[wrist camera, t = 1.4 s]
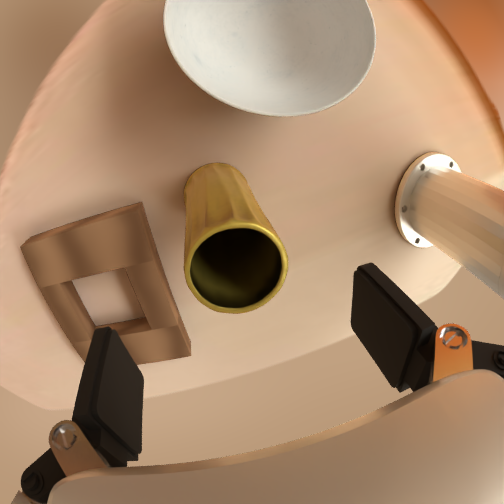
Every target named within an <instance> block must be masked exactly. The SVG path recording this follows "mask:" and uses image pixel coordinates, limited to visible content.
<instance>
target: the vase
mask: <svg viewBox="0 0 504 504" xmlns="http://www.w3.org/2000/svg"><path fill="white" fill-rule="evenodd" d="M184 202H185V206H186V232H185V251H184V273H185V278H186V282H187V285H188V287H189V289H190V290H191V292H192V293H193V295H194V296H195V297H196V298H197V300H198V301H199V302H201V303H202V304H203V305H205V306H206V307H208V308H210V309H212V310H214V311H217V312H222V313H233V314H238V313H245V312H249V311H252V310H255V309H257V308H259V307H261V306H263V305H264V304H266V303H267V302H268V301H269V300H271V299H272V298H273V297H274V296H275V295H276V294H277V292H278V291H279V290H280V288H281V287H282V285H283V283H284V281H285V278H286V275H287V271H288V256H287V253H286V250H285V248H284V246H283V244H282V242H281V240H280V238H279V237H278V235H277V233H276V232H275V230H274V229H273V227H272V225H271V224H270V222H269V221H268V219H267V218H266V216H265V215H264V213H263V211H262V210H261V208H260V206H259V205H258V203H257V201H256V200H255V198H254V196H253V194H252V191H251V189H250V187H249V186H248V184H247V181H246V179H245V177H244V176H243V175H242V174H241V173H240V172H239V171H238V170H237V169H236V168H234V167H233V166H231V165H228V164H223V163H211V164H207V165H205V166H202V167H200V168H199V169H197V170H196V171H195V172H194V173H193V174H192V175H191V176H190V178H189V179H188V181H187V183H186V185H185V189H184Z"/></svg>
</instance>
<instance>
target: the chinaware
mask: <svg viewBox="0 0 504 504" xmlns="http://www.w3.org/2000/svg"><path fill="white" fill-rule="evenodd" d="M163 27H164V33H165V38H166V41H167V44H168V47H169V49H170V52H171V54H172V56H173V58H174V59H175V61H176V62H177V64H178V65H179V67H180V68H181V70H182V71H183V72H184V73H185V74H186V75H187V77H188V78H189V79H190V80H191V81H192V82H193V83H195V84H196V85H197V86H198V87H199V88H201V89H202V90H203V91H205V92H206V93H207V94H209V95H210V96H212V97H214V98H215V99H217V100H219V101H221V102H223V103H225V104H227V105H229V106H232V107H234V108H237V109H240V110H243V111H246V112H250V113H254V114H258V115H264V116H274V117H293V116H302V115H308V114H312V113H316V112H319V111H322V110H325V109H327V108H329V107H332V106H334V105H335V104H337V103H339V102H341V101H342V100H344V99H345V98H346V97H348V96H349V95H350V94H351V93H352V92H353V91H354V90H355V89H356V88H357V87H358V86H359V85H360V84H361V82H362V81H363V80H364V78H365V77H366V75H367V73H368V71H369V69H370V67H371V64H372V61H373V58H374V54H375V48H376V30H375V24H374V19H373V16H372V12H371V10H370V7H369V5H368V3H367V1H366V0H166V1H165V5H164V12H163Z"/></svg>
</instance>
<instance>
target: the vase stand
mask: <svg viewBox="0 0 504 504" xmlns="http://www.w3.org/2000/svg"><path fill="white" fill-rule="evenodd" d="M20 248H21V250H22V253H23V255H24V257H25V259H26V262H27V264H28V266H29V268H30V270H31V272H32V274H33V276H34V279H35V281H36V283H37V285H38V286H39V288H40V290H41V292H42V294H43V296H44V298H45V300H46V302H47V303H48V305H49V307H50V309H51V310H52V312H53V314H54V316H55V317H56V319H57V321H58V322H59V324H60V326H61V327H62V329H63V331H64V332H65V334H66V335H67V337H68V338H69V340H70V342H71V343H72V345H73V346H74V348H75V349H76V351H77V352H78V353H79V355H80V356H81V358H82V359H83V361H84V362H85V361H86V358H87V354H88V350H89V347H90V344H91V340H92V337H93V334H94V331H95V329H97V328H102V327H107V326H109V327H111V329H115V330H116V331H117V333H118V335H119V337H120V338H121V340H122V342H123V344H124V345H125V347H126V349H127V350H128V352H129V354H130V355H131V357H132V359H133V360H134V362H135V363H136V365H139V364H146V363H153V362H159V361H165V360H171V359H177V358H182V357H188V356H191V341H190V339H189V337H188V334H187V332H186V329H185V327H184V324H183V322H182V319H181V316H180V314H179V311H178V309H177V306H176V303H175V301H174V298H173V295H172V293H171V290H170V287H169V284H168V281H167V279H166V276H165V273H164V270H163V267H162V264H161V261H160V258H159V255H158V252H157V249H156V246H155V243H154V240H153V237H152V234H151V230H150V227H149V224H148V220H147V217H146V214H145V210H144V207H143V203H142V202H140V203H137V204H133V205H129V206H126V207H122V208H119V209H115V210H112V211H108V212H105V213H102V214H98V215H95V216H92V217H89V218H85V219H82V220H79V221H76V222H73V223H70V224H67V225H64V226H61V227H58V228H55V229H52V230H49V231H46V232H43V233H41V234H38V235H35V236H32V237H30V238H29V239H28V240H27V241H26V242H25V243H24V244H23V245H22V246H21V247H20ZM124 267H125V270H126V272H127V275H128V277H129V280H130V282H131V284H132V287H133V289H134V292H135V294H136V296H137V298H138V301H139V303H140V305H141V308H142V310H143V312H144V314H145V316H146V317H145V318H140V319H135V320H129V321H124V322H118V323H113V324H107V325H101V326H95V325H94V323H93V321H92V319H91V318H90V316H89V314H88V312H87V310H86V308H85V306H84V305H83V303H82V301H81V299H80V297H79V295H78V293H77V291H76V289H75V287H74V285H73V283H72V281H71V280H74V279H78V278H82V277H87V276H91V275H95V274H99V273H103V272H107V271H111V270H116V269H120V268H124Z"/></svg>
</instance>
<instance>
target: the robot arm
mask: <svg viewBox="0 0 504 504" xmlns="http://www.w3.org/2000/svg"><path fill="white" fill-rule="evenodd" d="M395 219H396V223H397V227H398V229H399V231H400V234H401V235H402V236H403V238H404V239H405V240H407V241H408V242H409V243H410V244H412V245H414V246H416V247H420V248H425V247H430V246H433V245H434V246H436V247H437V248H439V249H440V250H441V251H443V252H444V253H446V254H447V255H448V256H450V257H451V258H452V259H454V260H455V261H456V262H458V263H459V264H460V265H462V266H463V267H464V268H466V269H467V270H468V271H470V272H471V273H472V274H473V275H475V276H476V277H477V278H478V279H480V280H481V281H482V282H483V283H485V284H486V285H487V286H488V287H489V288H491V289H492V290H493V291H494V292H496V293H497V294H498V295H499V296H501V297H502V298H503V299H504V191H503V190H501V189H498V188H496V187H494V186H492V185H489V184H487V183H485V182H482V181H480V180H478V179H475V178H473V177H470V176H468V175H465V174H463V173H461V170H460V168H459V166H458V165H457V163H456V162H455V161H454V160H453V159H452V158H451V157H449V156H447V155H445V154H442V153H438V152H430V153H427V154H424V155H422V156H421V157H419V158H417V159H416V160H415V161H414V162H413V163H412V164H411V165H410V167H409V168H408V169H407V171H406V172H405V174H404V176H403V178H402V180H401V182H400V185H399V188H398V191H397V196H396V201H395ZM351 327H352V329H353V331H354V332H355V334H356V335H357V337H358V338H359V339H360V341H361V342H362V344H363V345H364V346H365V348H366V349H367V351H368V352H369V354H370V355H371V357H372V358H373V360H374V361H375V363H376V364H377V366H378V367H379V368H380V370H381V372H382V373H383V374H384V375H385V377H386V379H387V380H388V382H389V383H390V385H391V386H392V387H393V388H395V387H396V388H397V389H398V391H399V392H402V391H404V390H406V389H408V388H411V389H412V391H413V393H411V394H409V395H407V396H405V397H403V398H401V399H399V400H397V401H394V402H393V403H390V404H388V405H386V406H384V407H382V408H379V409H377V410H375V411H373V412H371V413H368V414H366V415H363V416H361V417H359V418H356V419H354V420H351V421H349V422H346V423H344V424H341V425H338V426H336V427H333V428H330V429H328V430H325V431H322V432H319V433H316V434H313V435H310V436H307V437H303V438H300V439H297V440H294V441H290V442H287V443H283V444H279V445H276V446H272V447H268V448H264V449H260V450H256V451H251V452H247V453H242V454H237V455H232V456H226V457H221V458H215V459H209V460H202V461H195V462H187V463H177V464H166V465H155V466H139V467H127V461H138V454H140V453H141V451H142V409H143V389H144V378H143V375H142V373H141V371H140V370H139V368H138V367H137V365H136V363H135V362H134V360H133V359H132V357H131V355H130V354H129V352H128V350H127V349H126V347H125V345H124V344H123V342H122V340H121V338H120V337H119V335H118V333H117V331H116V330H115V329H111V327H109V326H107V327H102V328H97V329H95V331H94V334H93V337H92V340H91V344H90V347H89V350H88V354H87V358H86V361H85V365H84V369H83V372H82V376H81V380H80V384H79V389H78V393H77V397H76V402H75V407H74V411H73V416H72V421H71V420H64V421H61V422H59V423H57V424H56V425H55V426H54V427H53V428H52V430H51V431H50V435H49V444H50V447H51V448H50V449H49V450H48V451H46V452H45V453H44V454H43V455H42V456H41V457H39V458H38V459H37V460H36V461H35V462H34V463H33V464H31V465H30V467H28V468H27V469H26V470H25V471H24V472H23V474H22V477H21V487H22V490H23V491H22V492H21V491H18V492H17V494H16V496H15V498H14V499H13V501H12V503H11V504H504V346H502V345H496V344H489V343H483V342H478V341H472V340H471V337H470V334H469V332H468V331H467V330H466V329H465V328H464V327H462V326H460V325H458V324H454V323H453V324H451V323H450V324H449V323H448V324H444V325H442V326H441V327H439V328H437V326H435V323H434V322H433V321H432V320H431V319H430V318H429V317H428V316H427V315H426V314H425V313H424V312H423V311H422V310H421V309H420V308H419V307H418V306H417V305H416V304H415V303H414V302H413V301H412V300H411V299H410V298H409V297H408V296H407V295H406V294H405V293H404V292H403V291H402V290H401V289H400V288H399V287H398V286H397V285H396V284H395V283H394V282H393V281H392V280H390V279H389V278H388V277H387V276H386V275H385V274H384V273H383V272H382V271H381V270H380V269H379V268H378V267H377V266H376V265H374V264H373V263H368V264H364V265H361V266H359V267H358V268H357V271H355V272H354V280H353V298H352V311H351Z"/></svg>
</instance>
